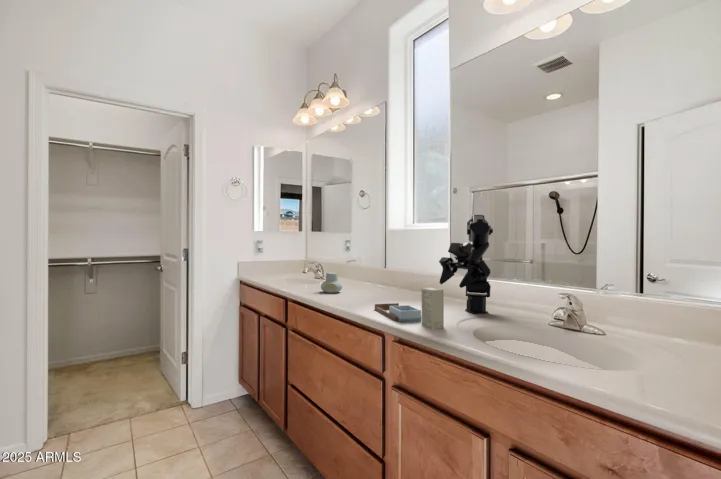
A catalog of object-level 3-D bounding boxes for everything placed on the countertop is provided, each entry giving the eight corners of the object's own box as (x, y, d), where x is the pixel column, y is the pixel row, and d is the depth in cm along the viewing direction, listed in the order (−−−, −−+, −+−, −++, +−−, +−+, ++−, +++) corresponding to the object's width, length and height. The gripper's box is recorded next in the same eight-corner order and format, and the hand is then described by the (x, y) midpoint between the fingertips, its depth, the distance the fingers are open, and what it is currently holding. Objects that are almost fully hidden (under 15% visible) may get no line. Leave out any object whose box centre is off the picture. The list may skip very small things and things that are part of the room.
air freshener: (343, 291, 184) (343, 272, 184) (340, 294, 176) (341, 274, 176) (322, 290, 185) (323, 272, 185) (319, 293, 177) (319, 273, 177)
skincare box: (444, 328, 110) (444, 289, 110) (432, 329, 108) (433, 290, 108) (431, 324, 116) (432, 287, 116) (420, 325, 113) (421, 287, 114)
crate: (408, 315, 128) (408, 305, 128) (420, 321, 118) (421, 310, 118) (389, 316, 125) (389, 305, 125) (400, 322, 116) (400, 311, 116)
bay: (397, 309, 140) (397, 303, 140) (421, 320, 121) (421, 313, 121) (374, 310, 137) (374, 303, 137) (394, 321, 118) (395, 314, 118)
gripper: (443, 234, 126) (418, 266, 121) (484, 234, 110) (458, 270, 104) (459, 256, 130) (435, 287, 124) (501, 259, 113) (476, 295, 108)
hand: (449, 285), depth 115 cm, fingers open, 9 cm apart
